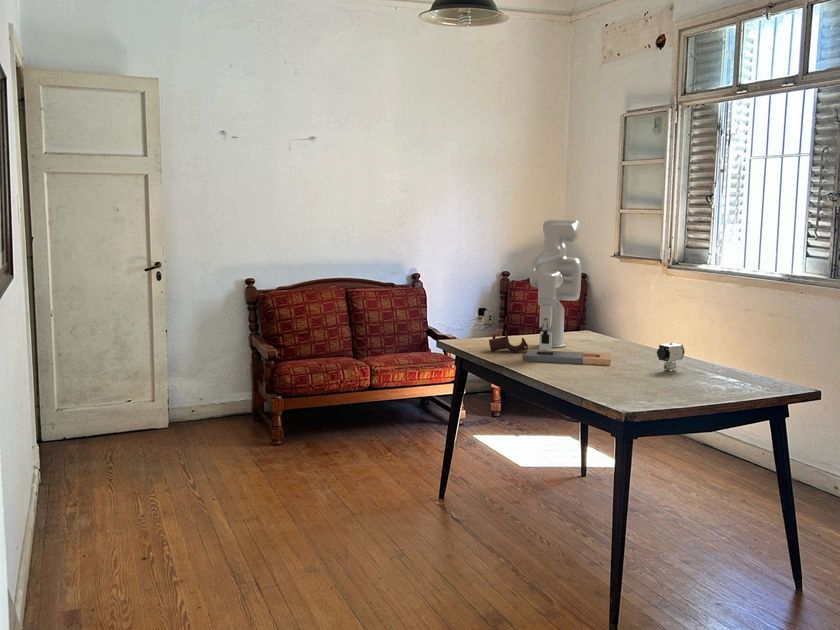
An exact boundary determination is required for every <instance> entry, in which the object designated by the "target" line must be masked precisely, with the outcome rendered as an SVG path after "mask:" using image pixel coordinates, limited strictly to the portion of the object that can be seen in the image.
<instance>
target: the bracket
mask: <svg viewBox="0 0 840 630" xmlns="http://www.w3.org/2000/svg"><path fill="white" fill-rule="evenodd" d="M491 336H492V337H491V339H488V343H489V348H490V352H491V351H492V352H495V351H502V350H508V351H510V352H512V353H517V352H518V353H519V352H523V351H528V350H529V345H528V343H527V342H526V339H525V338H524V337H521V341H520V343H519V345H512V344H511V343H510V341H509V340H510V339H509V335H508V330H507V329H506V330H505V331H504V336H502V337H497V338H496V334H491Z"/></svg>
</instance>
